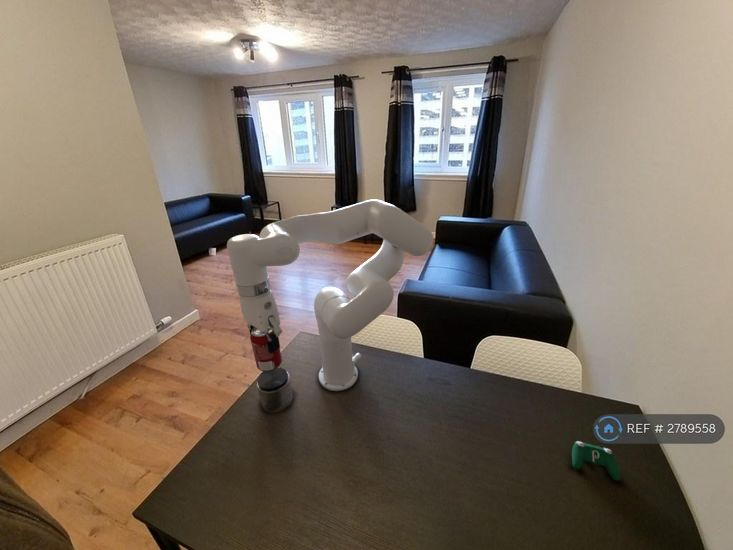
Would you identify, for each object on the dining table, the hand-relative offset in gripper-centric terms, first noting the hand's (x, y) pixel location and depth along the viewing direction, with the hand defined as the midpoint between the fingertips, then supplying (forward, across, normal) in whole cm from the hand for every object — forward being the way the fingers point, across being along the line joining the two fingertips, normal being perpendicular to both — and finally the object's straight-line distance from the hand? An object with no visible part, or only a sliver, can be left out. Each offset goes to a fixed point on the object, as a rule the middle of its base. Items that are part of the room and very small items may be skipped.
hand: (265, 344), depth 81 cm
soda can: (+7, 0, 0) cm, 7 cm away
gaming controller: (+21, -75, -34) cm, 85 cm away
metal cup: (+21, 0, 0) cm, 21 cm away
